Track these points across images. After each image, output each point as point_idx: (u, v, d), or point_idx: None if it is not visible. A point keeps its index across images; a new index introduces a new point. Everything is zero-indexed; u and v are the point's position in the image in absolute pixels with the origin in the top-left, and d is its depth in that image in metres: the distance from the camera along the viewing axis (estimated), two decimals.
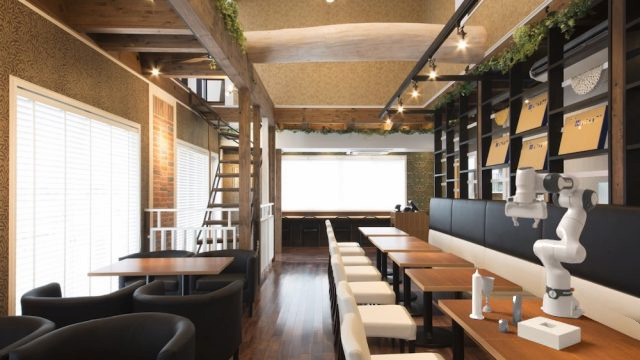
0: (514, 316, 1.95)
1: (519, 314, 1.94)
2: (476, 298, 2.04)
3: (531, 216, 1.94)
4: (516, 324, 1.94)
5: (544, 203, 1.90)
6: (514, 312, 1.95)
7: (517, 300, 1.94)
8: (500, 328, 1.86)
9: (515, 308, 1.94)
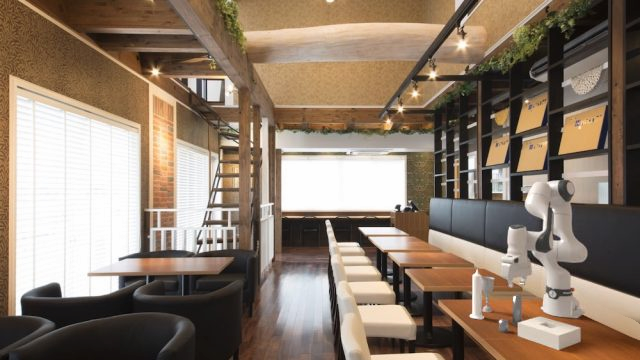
0: (514, 316, 1.95)
1: (519, 314, 1.94)
2: (476, 298, 2.04)
3: (525, 274, 1.96)
4: (516, 324, 1.94)
5: (529, 260, 2.01)
6: (514, 312, 1.95)
7: (517, 300, 1.94)
8: (500, 328, 1.86)
9: (515, 308, 1.94)
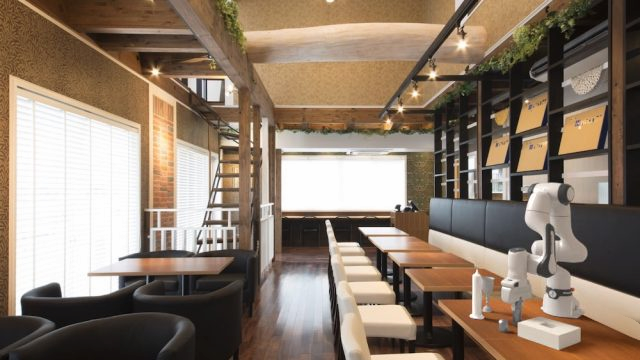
0: (514, 316, 1.95)
1: (519, 314, 1.94)
2: (476, 298, 2.04)
3: (525, 297, 1.96)
4: (516, 324, 1.94)
5: (529, 282, 2.00)
6: (514, 312, 1.95)
7: None
8: (500, 328, 1.86)
9: None
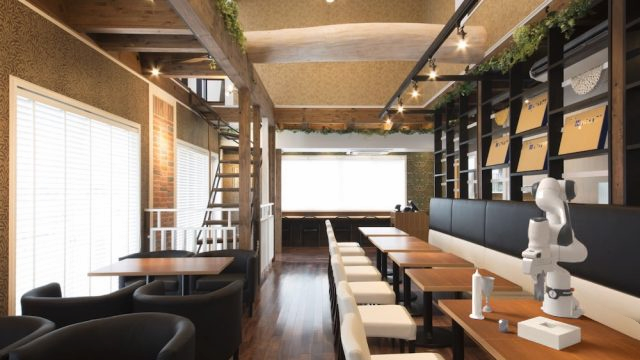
0: (536, 291, 1.82)
1: (541, 289, 1.80)
2: (476, 298, 2.04)
3: (548, 270, 1.83)
4: (538, 299, 1.81)
5: (551, 255, 1.87)
6: (536, 287, 1.82)
7: (539, 274, 1.81)
8: (500, 328, 1.86)
9: None
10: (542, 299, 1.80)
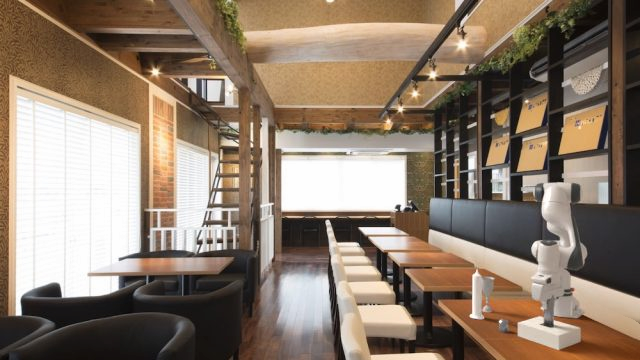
0: (545, 316, 1.77)
1: (551, 314, 1.76)
2: (476, 298, 2.04)
3: (557, 295, 1.78)
4: (548, 325, 1.76)
5: (561, 278, 1.83)
6: (545, 312, 1.77)
7: (549, 299, 1.76)
8: (500, 328, 1.86)
9: None
10: (552, 325, 1.76)
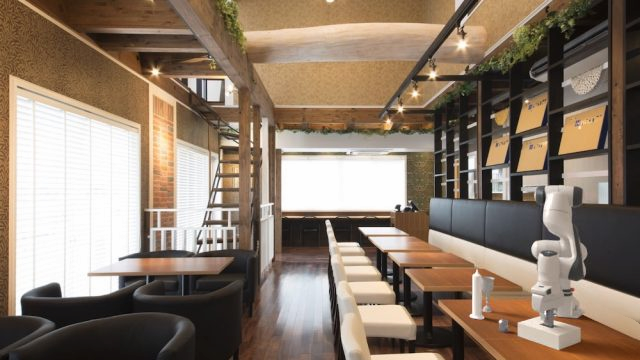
0: None
1: (551, 327, 1.76)
2: (476, 298, 2.04)
3: (557, 305, 1.78)
4: None
5: (561, 288, 1.83)
6: (545, 325, 1.77)
7: (549, 312, 1.76)
8: (500, 328, 1.86)
9: (546, 320, 1.76)
10: None
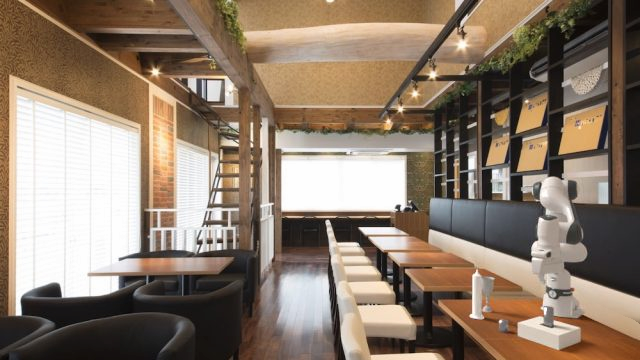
0: None
1: (551, 327, 1.76)
2: (476, 298, 2.04)
3: (557, 270, 1.79)
4: None
5: (560, 254, 1.83)
6: (545, 325, 1.77)
7: (549, 312, 1.76)
8: (500, 328, 1.86)
9: (546, 320, 1.77)
10: None
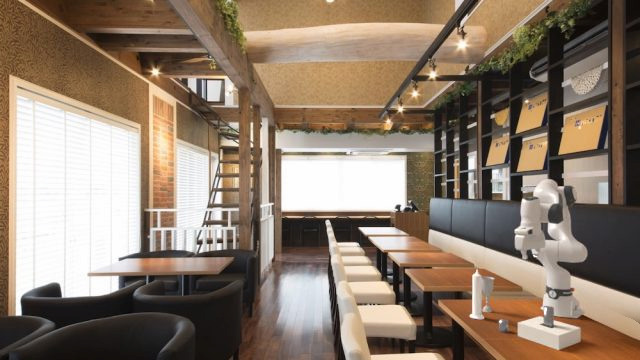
0: None
1: (551, 327, 1.76)
2: (476, 298, 2.04)
3: (539, 246, 1.94)
4: None
5: (542, 232, 1.98)
6: (545, 325, 1.77)
7: (549, 312, 1.76)
8: (500, 328, 1.86)
9: (546, 320, 1.76)
10: None
